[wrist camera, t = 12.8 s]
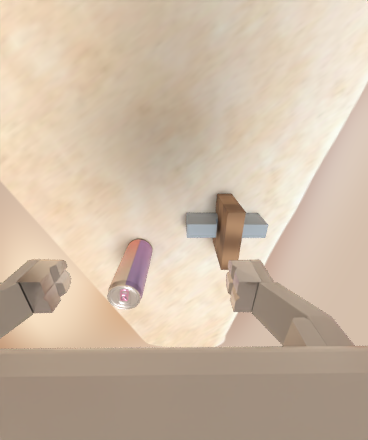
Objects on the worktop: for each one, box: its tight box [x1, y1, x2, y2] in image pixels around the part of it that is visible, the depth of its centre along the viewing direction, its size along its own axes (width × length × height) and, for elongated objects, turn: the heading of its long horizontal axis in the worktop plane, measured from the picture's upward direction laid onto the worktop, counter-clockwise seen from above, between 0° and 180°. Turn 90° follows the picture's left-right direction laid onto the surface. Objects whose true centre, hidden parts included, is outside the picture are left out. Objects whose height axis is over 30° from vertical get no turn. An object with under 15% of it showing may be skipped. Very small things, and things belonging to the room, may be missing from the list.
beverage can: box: [107, 239, 152, 309], centre depth 39 cm, size 6×6×15 cm
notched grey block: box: [186, 213, 268, 238], centre depth 41 cm, size 3×16×6 cm, turn 89°
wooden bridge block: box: [213, 194, 246, 270], centre depth 39 cm, size 12×3×10 cm, turn 0°
